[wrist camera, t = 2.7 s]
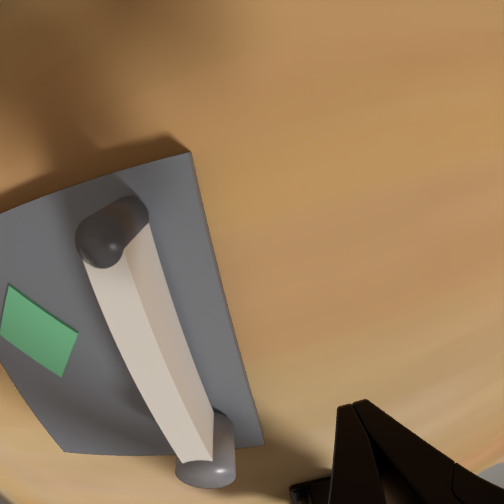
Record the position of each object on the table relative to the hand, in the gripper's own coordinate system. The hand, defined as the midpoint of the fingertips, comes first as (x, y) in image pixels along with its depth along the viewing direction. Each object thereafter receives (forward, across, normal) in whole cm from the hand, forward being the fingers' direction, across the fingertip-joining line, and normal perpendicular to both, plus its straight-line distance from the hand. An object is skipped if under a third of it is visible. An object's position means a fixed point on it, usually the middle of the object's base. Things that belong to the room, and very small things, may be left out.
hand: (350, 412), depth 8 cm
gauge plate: (+9, +12, +2) cm, 15 cm away
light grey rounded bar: (+7, +6, +2) cm, 10 cm away
